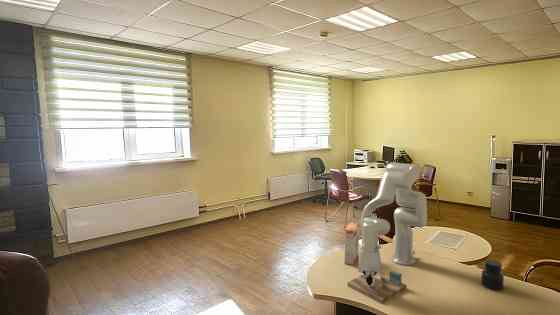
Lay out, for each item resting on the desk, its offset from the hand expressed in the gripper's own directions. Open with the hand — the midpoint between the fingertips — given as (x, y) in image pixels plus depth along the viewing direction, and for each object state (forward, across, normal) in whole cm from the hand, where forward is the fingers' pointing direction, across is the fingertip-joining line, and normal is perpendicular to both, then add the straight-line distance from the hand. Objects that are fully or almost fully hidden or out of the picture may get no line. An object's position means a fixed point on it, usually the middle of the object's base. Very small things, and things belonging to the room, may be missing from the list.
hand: (369, 283), depth 151 cm
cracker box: (+3, +5, -33) cm, 34 cm away
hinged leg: (+1, -4, -4) cm, 5 cm away
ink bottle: (+3, -60, -10) cm, 61 cm away
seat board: (+3, -4, -3) cm, 6 cm away
